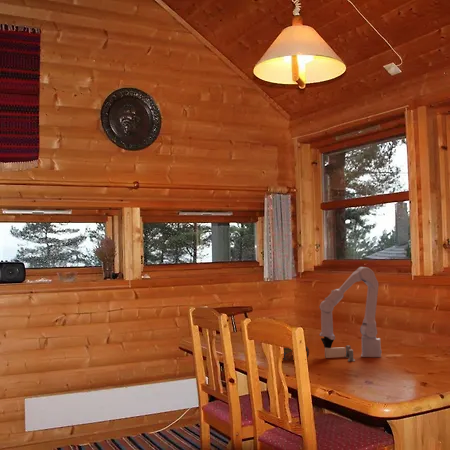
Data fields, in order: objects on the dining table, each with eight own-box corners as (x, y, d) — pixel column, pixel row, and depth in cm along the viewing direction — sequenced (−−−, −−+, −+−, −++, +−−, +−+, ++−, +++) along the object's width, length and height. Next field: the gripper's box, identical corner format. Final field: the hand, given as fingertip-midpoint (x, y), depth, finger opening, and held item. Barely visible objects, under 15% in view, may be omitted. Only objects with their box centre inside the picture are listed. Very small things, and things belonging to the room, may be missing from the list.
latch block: (355, 359, 299) (354, 349, 300) (354, 361, 294) (354, 350, 295) (348, 359, 300) (348, 349, 300) (347, 361, 295) (347, 350, 295)
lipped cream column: (344, 356, 308) (343, 346, 308) (345, 356, 306) (345, 347, 306) (325, 357, 306) (324, 347, 306) (326, 358, 304) (326, 348, 304)
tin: (278, 360, 304) (278, 342, 304) (281, 358, 307) (280, 341, 307) (308, 361, 297) (307, 344, 297) (310, 360, 300) (309, 343, 300)
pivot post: (353, 356, 308) (352, 345, 309) (352, 357, 304) (352, 346, 304) (344, 356, 310) (343, 345, 310) (343, 357, 305) (343, 346, 306)
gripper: (314, 323, 314) (314, 350, 313) (325, 327, 300) (326, 355, 299) (327, 323, 316) (328, 349, 315) (338, 326, 301) (339, 354, 301)
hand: (327, 352), depth 307 cm, fingers closed
